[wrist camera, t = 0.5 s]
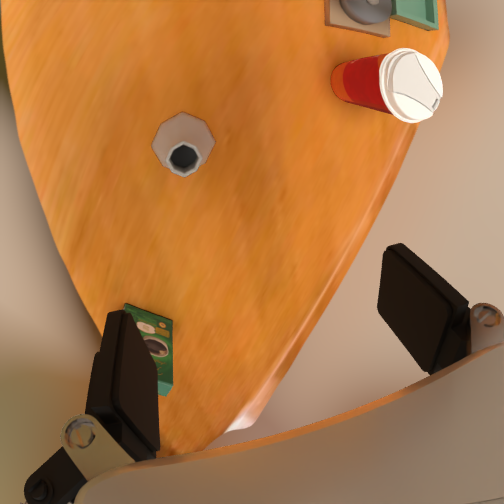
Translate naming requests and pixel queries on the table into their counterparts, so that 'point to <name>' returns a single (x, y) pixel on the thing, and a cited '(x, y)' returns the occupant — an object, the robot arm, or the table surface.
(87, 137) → the table surface
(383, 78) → the paper cup
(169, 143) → the flask
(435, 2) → the tray
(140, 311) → the coffee box
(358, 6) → the block
